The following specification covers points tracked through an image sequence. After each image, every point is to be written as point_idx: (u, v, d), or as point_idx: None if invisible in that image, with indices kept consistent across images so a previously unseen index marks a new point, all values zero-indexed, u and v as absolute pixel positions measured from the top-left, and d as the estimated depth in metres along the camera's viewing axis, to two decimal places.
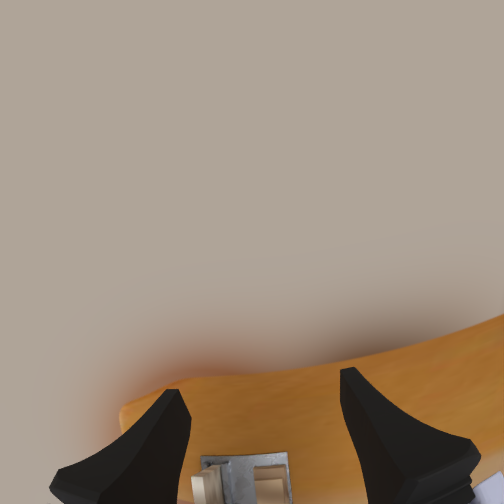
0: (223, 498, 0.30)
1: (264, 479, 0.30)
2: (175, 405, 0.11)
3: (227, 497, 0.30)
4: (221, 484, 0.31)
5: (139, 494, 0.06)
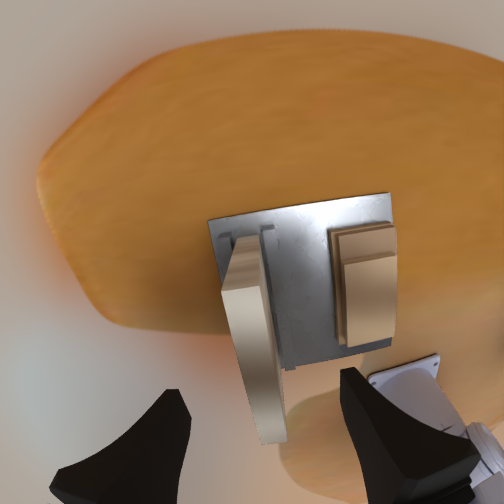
0: (272, 317, 0.20)
1: (361, 259, 0.18)
2: (175, 405, 0.11)
3: (282, 313, 0.19)
4: (266, 284, 0.19)
5: (139, 494, 0.06)
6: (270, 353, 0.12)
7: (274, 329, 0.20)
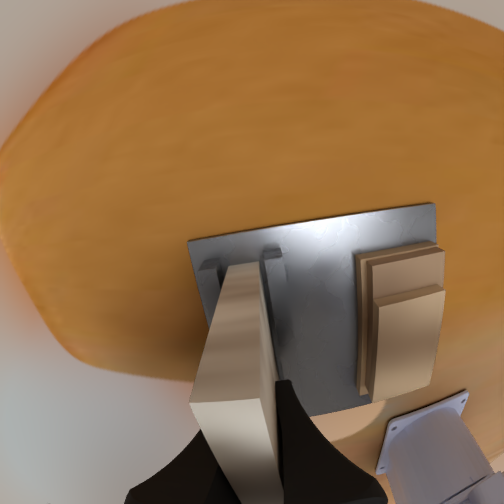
0: (277, 370, 0.14)
1: (400, 296, 0.12)
2: None
3: (290, 367, 0.14)
4: (270, 331, 0.13)
5: (223, 502, 0.06)
6: (276, 471, 0.06)
7: None
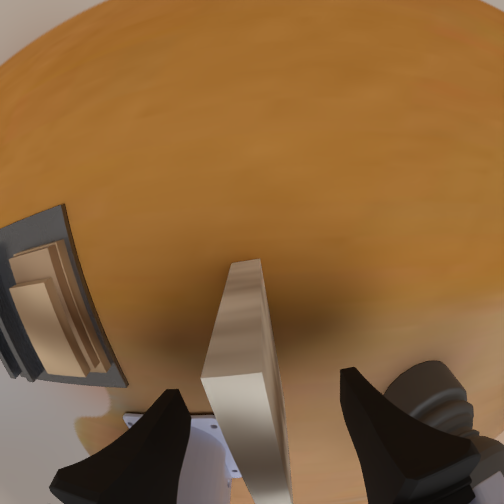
0: (276, 361, 0.15)
1: (24, 283, 0.13)
2: (175, 405, 0.11)
3: (2, 326, 0.15)
4: (270, 323, 0.14)
5: (139, 494, 0.06)
6: (276, 446, 0.07)
7: (278, 375, 0.15)
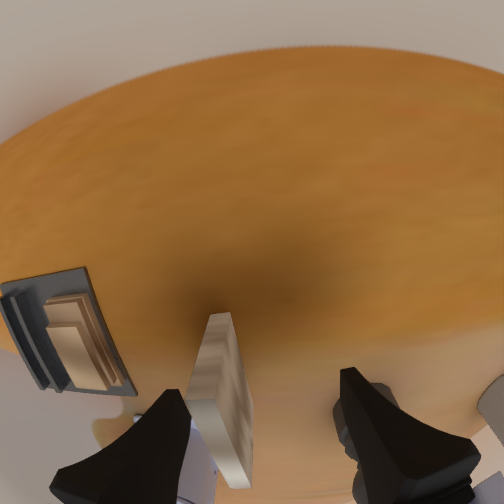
0: (244, 381, 0.21)
1: (58, 324, 0.19)
2: (175, 405, 0.11)
3: (36, 352, 0.21)
4: (237, 356, 0.20)
5: (139, 494, 0.06)
6: (228, 437, 0.13)
7: (246, 390, 0.21)
